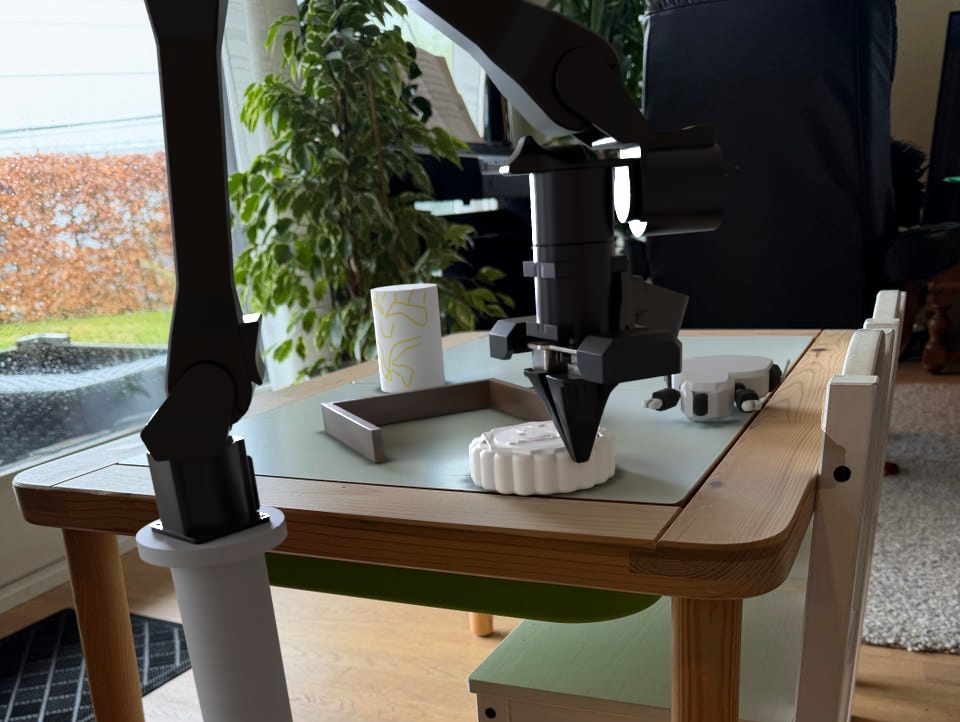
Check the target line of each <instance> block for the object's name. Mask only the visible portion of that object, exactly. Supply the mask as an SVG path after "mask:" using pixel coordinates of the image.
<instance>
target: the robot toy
mask: <svg viewBox="0 0 960 722" xmlns="http://www.w3.org/2000/svg"><path fill="white" fill-rule="evenodd" d="M790 364H791V358H787V359H786V363H785V365H784V366H785V367H784V369H783V371H782V369H781V367H780V366H779V365H778V364H776V363H774V359H773V358H769V357H766V356H759V355H743V354H742V355H741V354H722V355H721V354H720V355H718V354H717V355H703V356H694V357H693V356H692V357H688V358H682V372H681V373H680V374H674V375H668V376H663V382H665V384H666V386H667V387H665V388H661V389H659V390H657V391H653V392H652V394H651V398H646V399H645V400H643V402H642V406H643V408H644V409H650V410H655V411H656V412H665V411H667V410H670V409H672V408H675V407H677V406H678V403H679V402H680V411H681V413H682V414H683V415H684V416H685V417H686V419H687V420H688V421H693V422H703V423H704V422H705V423H709V422H711V423H714V422H715V423H716V422H723V421H725V419H726V418H727V417H728V416H729V415H730V414H731V413H732V412H733V411H734V408H737V409H738V411H739V412H740V413H743V414H752V413H754V412H757V411H760V410H762V407H763V405H762V402H761V399H765V398H766V397H767V396H768V394H771V393H773V392H774V391H775V390H776V389H777V388H778V387H779V386H780V385H781V383H785V382H786V374H787V372H788V368H789V366H790ZM735 406H736V407H735Z"/></svg>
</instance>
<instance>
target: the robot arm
mask: <svg viewBox="0 0 960 722" xmlns="http://www.w3.org/2000/svg"><path fill="white" fill-rule="evenodd" d="M398 1H399V2H400V3H401V4H403V6H405V7H406V8H408V9H410V11H412V12H413V13H415V14H416V15H417V16H419V18H421V19H422V20H424V21H425V22H426V23H428V24H429V25H430V26H432V27H433V28H434V29H436V30H437V31H439V32H440V33H441V34H443V35H444V36H445V37H446V38H448V39H449V40H451V41H452V42H453V43H455V44H456V45H457V46H458V47H459V48H462V50H464V51H465V52H466V53H468V54H469V55H470V57H472V58H473V60H474V61H475V62H476V63H477V64H478V65H479V66H480V67H481V68H482V70H483V71H484V72H485V73H486V75H487V76H488V78H489V79H490V80H491V82H492V83H493V85H495V87H496V89H497V90H498V91H499V92H500V94H501V95H502V96H503V97H504V98H505V99H506V100H507V102H509V103H510V104H511V106H512V107H513V108H514V109H515V110H516V111H517V112H518V113H519V114H520V115H521V117H523V119H524V120H525V121H526V122H527V123H528V124H529V125H530V126H531V127H532V128H534V129H535V131H538V132H539V133H541V134H543V135H545V136H547V137H553V138H562V137H566V136H570V137H572V138H574V139H575V140H577V142H579V143H575V144H562V145H549V146H541V145H540V144H539V143H538V142H537V141H536V140H535V139H534V137H533V136H532V135H531V134H527V135H524V136H522V137H520V138H519V140H518V142H517V145H516V147H515V148H514V150H513V152H512V153H511V155H510V156H509V157H508V158H507V159H506V161H505V162H504V163H502V164H501V166H500V167H499V173H500V175H501V176H503V177H516V176H529V188H530V190H529V191H530V209H531V228H532V229H531V230H532V245H533V246H532V250H533V260H527V261H522V265H523V268H522V269H523V277H525V278H526V277H527V278H528V277H529V278H534V289H535V291H534V293H535V310H536V311H535V312H536V314H535V315H527V316H519V317H512V318H505V319H499V320H497V321H496V322H495V324H494V326H493V327H492V328H491V330H490V331H489V332H488V343H489V354H490V355H489V356H490V358H493V359H497V360H501V361H509V360H511V359H512V357H513V355H519V354H524V353H525V354H526V353H531V363H532V364H531V365H532V367H526V368H524V369H522V373H523V375H524V377H525V378H526V377H527V379H528V380H529V381H530V383H531V385H532V387H533V390H536V392H537V394H538V396H539V398H540V399H541V401H542V403H543V405H544V406H545V408H546V410H547V412H548V414H549V416H550V418H551V420H552V421H553V423H554V425H555V427H556V429H557V431H558V433H559V435H560V437H561V439H562V441H563V443H564V445H565V447H566V449H567V451H568V453H569V455H570V457H571V459H572V460H573V461H574V462H576V463H583V462H587V461H589V459H590V455H591V452H592V449H593V445H594V442H595V438H596V435H597V432H598V428H599V426H601V421H602V417H603V414H604V411H605V408H606V406H607V403H608V401H609V398H610V395H611V393H612V392H613V391H614V390H615V389H616V388H617V387H618V386H619V385H620V384H623V383H630V382H636V381H642V380H643V381H644V380H648V379H655V378H661V377H664V376H668V375H674V374H680V373H681V372H682V360H683V342H682V341H681V340H680V339H679V338H678V337H679V334H680V330H681V326H682V323H683V319H684V316H685V312H686V310H687V307H688V302H689V299H690V297H689V296H688V295H687V294H684V293H680V292H678V291H674V290H671V289H669V288H667V287H666V288H665V287H663V286H659V285H657V284H653V283H650V282H647V281H644V278H643V276H642V275H634V274H632V264H631V263H632V262H631V260H630V259H628V255H627V254H616V240H615V238H616V237H615V212H616V216H617V219H618V220H619V222H620V223H621V224H627V223H628V224H629V228H630V231H631V232H632V234H633V235H634V237H636V238H640V237H641V238H642V237H652V236H663V235H665V236H666V235H677V234H687V233H699V232H708V231H709V232H710V231H715V230H717V229H718V228H719V226H720V225H721V224H722V221H723V219H724V216H725V213H726V211H727V205H728V200H729V189H730V178H729V177H730V176H729V174H727V172H726V165H725V159H724V155H723V152H722V150H721V148H720V146H719V144H718V143H717V126H716V124H715V123H707V124H706V123H704V124H697V125H692V126H687V127H684V128H681V129H669V130H654V129H653V127H652V126H651V125H650V123H649V121H648V120H647V119H646V117H645V115H643V113H642V111H641V110H640V109H639V107H638V105H637V104H636V102H635V101H634V100H633V97H631V95H630V94H629V92H628V91H627V89H626V87H625V86H624V84H622V81H623V78H622V77H623V76H622V70H621V63H620V61H621V60H620V59H621V58H620V56H619V54H618V52H617V50H616V48H615V47H614V46H613V45H612V43H610V41H609V40H608V39H607V38H606V36H603V35H602V34H601V33H599V32H598V31H596V30H593V29H591V28H590V27H588V26H586V25H583V24H582V23H581V22H579V21H576V20H575V19H572V18H571V17H569V16H567V15H565V14H563V13H561V12H559V11H557V10H554V9H551V8H548V7H545V6H543V5H540V4H538V3H534V2H533V1H532V2H531V1H529V0H398ZM143 3H144V6H145V9H146V13H147V17H148V21H149V24H150V27H151V31H152V35H153V39H154V43H155V48H156V49H155V50H156V59H157V71H158V83H159V96H160V106H161V118H162V130H163V131H162V132H163V144H164V156H165V167H166V181H167V190H168V191H167V193H168V202H169V215H170V216H169V217H170V228H171V238H172V239H171V240H172V250H173V263H174V275H175V290H174V291H175V292H174V300H173V306H172V312H171V320H170V326H169V333H168V340H167V341H168V342H167V351H166V365H165V375H164V391H165V394H166V397H165V398H164V400H163V401H162V403H161V404H160V405H159V406H158V408H157V409H156V411H155V412H154V413H153V415H152V416H151V418H150V419H149V421H147V423H146V425H145V426H144V427H143V428H142V430H141V431H140V432H139V433H140V434H139V437H140V439H141V441H142V443H143V444H144V446H145V448H146V450H147V451H146V452H145V454H146V459H147V463H148V469H149V472H150V473H149V474H150V477H151V481H152V487H153V492H154V497H155V501H156V506H157V510H158V515H159V519H160V520H161V522H158V523H155V524H152V525H151V530H152V532H155V533H158V534H162V535H165V536H168V537H171V538H175V539H178V540H181V541H184V542H188V543H191V544H194V545H200V544H204V543H207V542H210V541H213V540H216V539H219V538H222V537H225V536H228V535H231V534H234V533H237V532H240V531H243V530H246V529H249V528H252V527H255V526H258V525H261V524H264V523H267V522H270V516H269V514H265V513H261V512H257V510H259V509H260V505H261V501H260V496H259V495H260V494H259V489H258V484H257V483H258V482H257V478H256V477H257V476H256V472H255V466H254V459H253V457H252V456H251V455H249V454H247V447H246V441H245V438H244V437H242V436H236V435H231V434H230V432H231V431H232V430H233V426H234V425H235V424H237V423H238V422H239V421H240V420H241V419H242V418H243V417H244V416H245V415H246V414H247V413H248V412H249V410H250V406H251V404H252V401H253V398H254V393H255V390H256V386H262V385H263V384H264V379H265V374H266V370H267V367H266V364H265V363H264V360H263V358H262V353H261V349H260V344H261V343H260V342H261V333H262V324H263V313H260V312H258V313H253V314H246V315H244V313H243V309H242V306H241V302H240V298H239V294H238V291H237V287H236V282H235V281H236V280H235V269H234V252H233V251H234V250H233V236H232V220H231V219H232V218H231V203H230V185H229V172H228V171H229V170H228V153H227V152H228V151H227V139H226V138H227V136H226V123H225V122H226V121H225V120H226V119H225V103H224V87H223V72H222V51H223V43H224V36H225V29H226V22H227V14H228V8H229V0H143ZM580 143H581V144H580ZM582 144H583V145H584V146H585V147H587V149H590V150H592V151H599V150H600V151H601V150H614V149H619V152H620V155H619V156H620V157H618V158H617V157H616V158H605V159H602V158H601V159H589V158H588V154H587V152H586V150H585V147H583V145H582ZM614 170H615V171H614ZM614 172H615V173H614ZM614 176H615V177H614Z"/></svg>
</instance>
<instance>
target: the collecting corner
mask: <svg viewBox="0 0 960 722" xmlns="http://www.w3.org/2000/svg"><path fill="white" fill-rule="evenodd" d="M320 405H321V413H322V420H323V428H324V433H326V434H327V435H329V436H331V437H332V438H334V439H336V440H337V441H339V442H340V443H343V444H344V445H345V446H347V447H349V448H350V449H352V450H354V451H355V452H357V453H358V454H360V455H362V456H363V457H365V458H367V459H368V460H370V461H372V462H373V463H375V464H377V463H383V462H386V457H385V455H386V453H385V447H384V438H383V437H384V436H383V429H382V428H381V427H378V426H382V425H389V424H395V423H402V422H407V421H413V420H420V419H426V418H432V417H438V416H444V415H450V414H451V415H452V414H457V413H463V412H469V411H475V410H481V409H487V408H493V409H496V410H498V411H501V412H504V413H507V414H509V415H512V416H515V417H518V418H521V419H522V420H526V421H528V422H544V421H551V418H550V416H549V414H548V412H547V410H546V408H545V406H544V405H543V403H542V401H541V399H540V398H539V396H538V394H537V392H536V390H535V389H534V388H530V387H526V386H523V385H521V384H520V385H519V384H516V383H512V382H509V381H506V380H502V379H500V378H496V377H489V378H483V379H482V378H481V379H475V380H470V381H469V380H467V381H461V382H456V383H449V384H445V385H442V386H435V387H428V388H422V389H415V390H408V391H402V392H395V393H383V394H376V395H370V396H369V395H368V396H362V397H356V398H350V399H343V400H336V401H330V402H324V403H323V402H322V403H321V404H320Z"/></svg>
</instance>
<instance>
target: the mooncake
mask: <svg viewBox="0 0 960 722" xmlns="http://www.w3.org/2000/svg"><path fill="white" fill-rule="evenodd" d="M468 451H469V453H468V454H469V466H470V477H471V479H472V480H473V483H474V485H475V486H477V487H481V488H483V490H486V491H488V492H489V491H490V492H497V493H500V494H503V495H512V494H513V495H515V494H516V495H518V496H533V495H540V496H549V495H553V494H558V493H560V494H566V493H567V494H568V493H572V492H575V491H578V490H587V489H590V488H593V487H594V486H595V485H602V484H604V483H605V482H607V480H608V479H610V478H613V476H614V475H615V470H616V437H615V435H614V434H613V433H612V432H610V431H609V430H608V429H606V428H602V426H601V425H599V428H598V432H597V435H596V438H595V442H594V445H593V449H592V452H591V455H590V459H589V461H587V462H583V463H576V462H574V461H573V460H572V459H571V457H570V455H569V453H568V451H567V449H566V447H565V445H564V443H563V441H562V439H561V437H560V435H559V433H558V431H557V429H556V427H555V425H554V423H553V421H552V420H551V421H544V422H532V421H527V422H523V423H519V424H514V425H508V426H502V427H495V428H492V429H491V430H490V431H485V432H482V433H481V436H478V437H475V438H473V440H472V442H471V443H469V446H468Z"/></svg>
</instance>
